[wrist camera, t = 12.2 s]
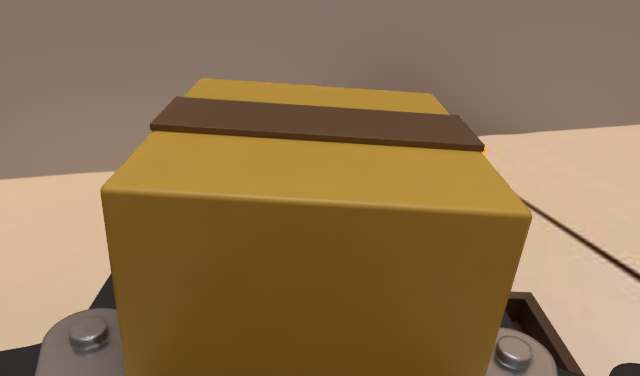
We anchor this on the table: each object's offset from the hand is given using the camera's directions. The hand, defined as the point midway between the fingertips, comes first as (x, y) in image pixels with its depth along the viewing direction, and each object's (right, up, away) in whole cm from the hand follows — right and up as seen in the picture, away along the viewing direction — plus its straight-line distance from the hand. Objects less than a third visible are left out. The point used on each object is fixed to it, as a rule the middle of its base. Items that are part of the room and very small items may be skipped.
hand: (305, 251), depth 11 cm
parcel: (0, -7, 0) cm, 7 cm away
